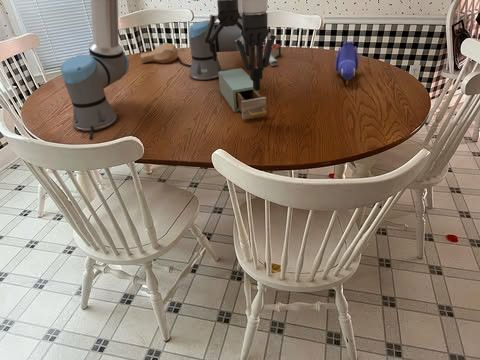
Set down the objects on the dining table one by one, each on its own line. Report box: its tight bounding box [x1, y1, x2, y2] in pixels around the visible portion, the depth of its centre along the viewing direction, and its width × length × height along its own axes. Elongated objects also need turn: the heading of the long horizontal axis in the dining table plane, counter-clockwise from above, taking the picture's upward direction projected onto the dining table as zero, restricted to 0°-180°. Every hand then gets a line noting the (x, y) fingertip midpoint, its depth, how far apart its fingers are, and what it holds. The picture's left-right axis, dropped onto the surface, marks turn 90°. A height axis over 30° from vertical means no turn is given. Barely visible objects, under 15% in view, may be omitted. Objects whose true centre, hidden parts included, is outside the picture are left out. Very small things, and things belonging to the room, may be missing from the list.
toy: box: [334, 40, 360, 86], centre depth 151 cm, size 10×17×25 cm
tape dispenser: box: [255, 43, 282, 67], centre depth 181 cm, size 18×5×20 cm
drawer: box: [236, 89, 268, 120], centre depth 132 cm, size 25×9×7 cm, turn 17°
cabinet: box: [218, 67, 260, 113], centre depth 141 cm, size 21×10×9 cm, turn 17°
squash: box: [140, 42, 179, 64], centre depth 186 cm, size 11×20×9 cm, turn 92°
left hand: (256, 89), depth 118 cm, fingers closed
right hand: (231, 57), depth 141 cm, fingers open, 13 cm apart
